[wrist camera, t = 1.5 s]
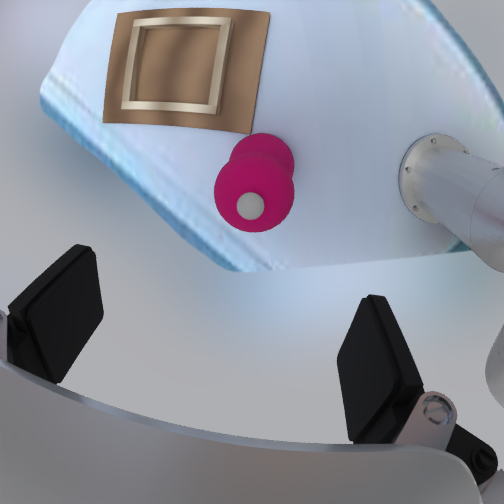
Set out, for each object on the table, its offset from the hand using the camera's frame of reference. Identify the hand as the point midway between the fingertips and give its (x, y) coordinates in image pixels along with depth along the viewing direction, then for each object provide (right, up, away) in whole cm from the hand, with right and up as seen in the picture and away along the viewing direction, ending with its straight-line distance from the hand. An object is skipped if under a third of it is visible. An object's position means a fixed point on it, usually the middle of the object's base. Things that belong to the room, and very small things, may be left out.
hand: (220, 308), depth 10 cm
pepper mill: (+2, +13, +27) cm, 30 cm away
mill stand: (-8, +25, +22) cm, 34 cm away
